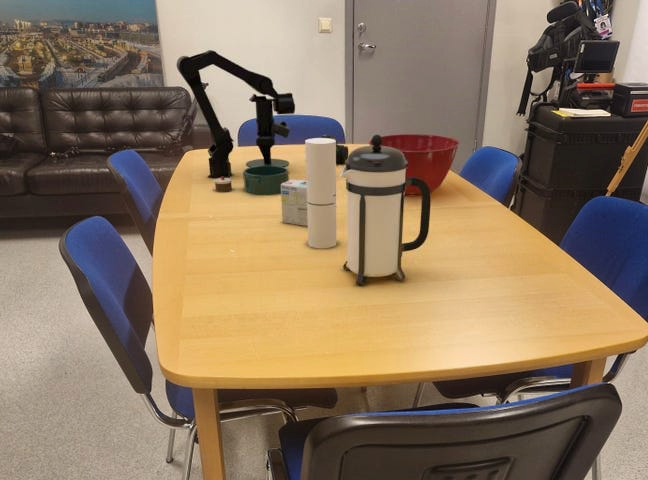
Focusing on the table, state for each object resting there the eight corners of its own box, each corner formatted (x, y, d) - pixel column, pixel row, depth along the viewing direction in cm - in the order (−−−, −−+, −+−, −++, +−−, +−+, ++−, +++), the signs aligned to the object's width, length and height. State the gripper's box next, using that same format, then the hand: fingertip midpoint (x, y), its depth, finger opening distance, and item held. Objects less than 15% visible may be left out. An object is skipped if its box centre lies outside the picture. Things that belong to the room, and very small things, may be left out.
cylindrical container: (340, 241, 161) (340, 139, 148) (330, 249, 155) (329, 144, 142) (314, 237, 163) (312, 137, 150) (303, 246, 157) (300, 142, 144)
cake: (212, 191, 202) (211, 177, 200) (219, 187, 207) (218, 173, 205) (228, 192, 201) (226, 178, 199) (234, 188, 206) (233, 174, 203)
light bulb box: (327, 221, 175) (326, 182, 170) (315, 228, 170) (314, 188, 164) (293, 216, 179) (291, 178, 174) (281, 222, 174) (279, 183, 168)
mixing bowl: (355, 196, 198) (355, 145, 190) (385, 176, 221) (386, 130, 213) (442, 206, 189) (446, 153, 181) (464, 184, 212) (468, 136, 204)
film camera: (347, 168, 232) (348, 140, 227) (314, 168, 232) (313, 140, 227) (348, 158, 247) (348, 131, 242) (317, 157, 247) (316, 131, 242)
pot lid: (239, 169, 220) (237, 153, 217) (255, 160, 233) (254, 144, 230) (280, 172, 216) (279, 155, 214) (295, 163, 229) (294, 147, 227)
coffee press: (390, 294, 131) (396, 145, 116) (327, 278, 139) (325, 136, 124) (427, 268, 144) (436, 131, 129) (367, 255, 151) (370, 124, 137)
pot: (234, 195, 198) (232, 176, 196) (257, 180, 215) (256, 162, 212) (277, 198, 195) (276, 179, 193) (297, 183, 212) (296, 165, 209)
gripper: (288, 119, 209) (290, 167, 216) (287, 111, 225) (289, 156, 232) (254, 119, 208) (257, 167, 215) (256, 111, 224) (259, 156, 231)
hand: (267, 161), depth 224 cm, fingers closed on pot lid, 3 cm apart
